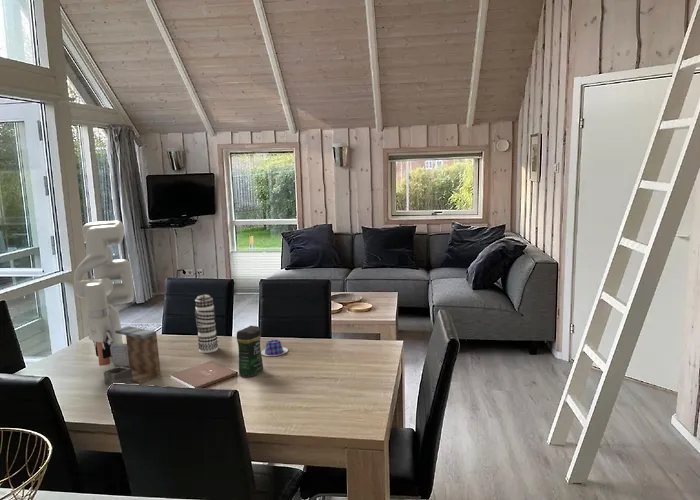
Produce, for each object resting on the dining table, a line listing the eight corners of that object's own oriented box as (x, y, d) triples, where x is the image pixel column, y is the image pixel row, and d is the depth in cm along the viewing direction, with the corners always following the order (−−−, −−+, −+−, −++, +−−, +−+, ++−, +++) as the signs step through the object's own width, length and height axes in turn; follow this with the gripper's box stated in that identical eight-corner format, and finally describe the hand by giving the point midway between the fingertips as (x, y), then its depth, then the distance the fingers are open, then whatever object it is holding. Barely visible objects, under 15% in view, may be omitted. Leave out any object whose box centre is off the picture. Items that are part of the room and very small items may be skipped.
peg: (97, 364, 223) (93, 336, 220) (106, 361, 226) (102, 333, 224) (103, 366, 220) (99, 337, 218) (112, 362, 224) (108, 334, 221)
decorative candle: (223, 347, 251) (218, 294, 247) (208, 354, 243) (203, 299, 239) (209, 345, 256) (204, 292, 252) (193, 351, 248) (188, 297, 244)
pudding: (284, 346, 249) (283, 335, 248) (291, 354, 238) (290, 342, 237) (257, 351, 244) (256, 339, 244) (264, 359, 233) (263, 347, 232)
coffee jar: (252, 378, 211) (248, 331, 208) (236, 376, 214) (232, 330, 212) (267, 369, 220) (263, 324, 217) (250, 367, 223) (247, 323, 220)
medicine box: (135, 363, 236) (133, 343, 235) (128, 367, 232) (126, 347, 231) (120, 362, 239) (118, 342, 237) (113, 365, 234) (111, 346, 233)
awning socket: (97, 381, 216) (91, 337, 214) (133, 368, 230) (128, 326, 227) (124, 390, 206) (119, 343, 204) (160, 375, 220) (156, 331, 217)
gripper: (77, 312, 221) (83, 355, 224) (101, 318, 211) (107, 363, 215) (94, 307, 227) (100, 349, 230) (119, 313, 218) (124, 357, 221)
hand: (103, 355), depth 222 cm, fingers closed on peg, 4 cm apart
